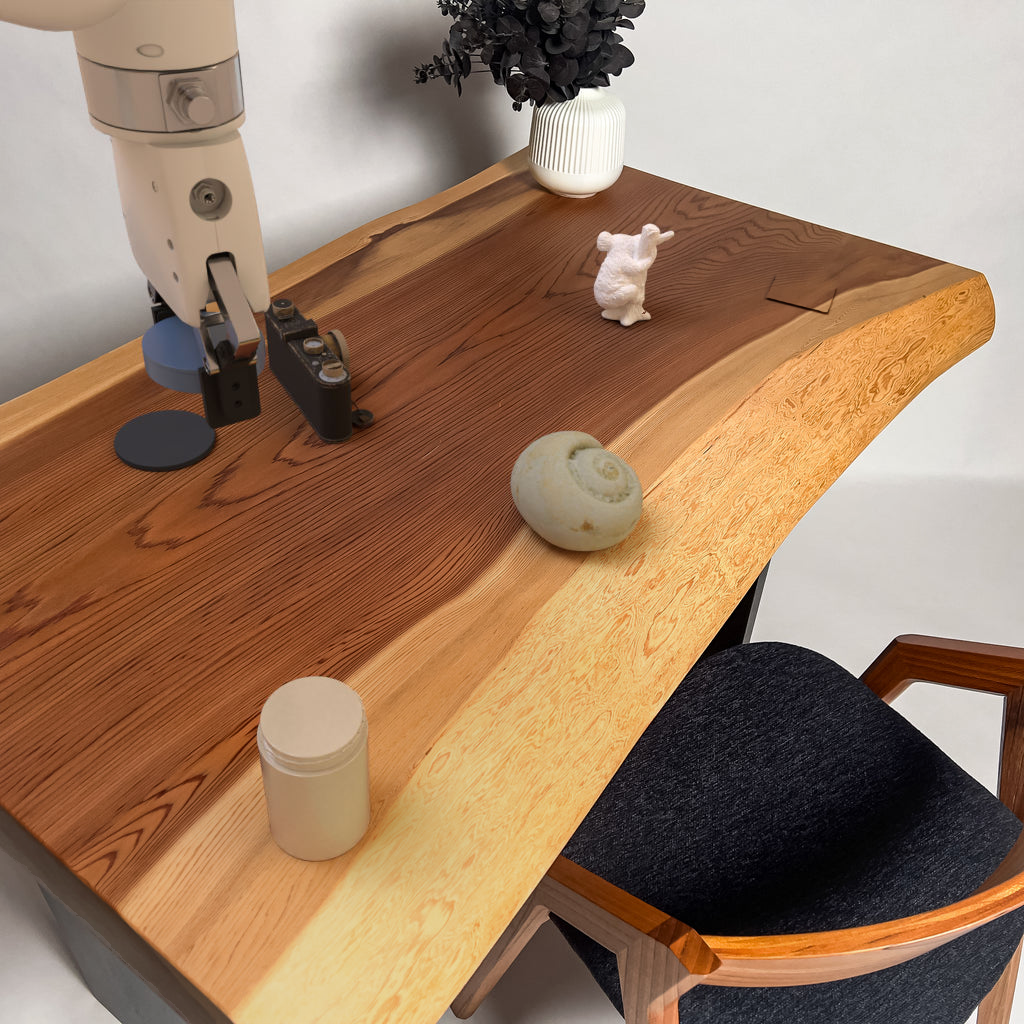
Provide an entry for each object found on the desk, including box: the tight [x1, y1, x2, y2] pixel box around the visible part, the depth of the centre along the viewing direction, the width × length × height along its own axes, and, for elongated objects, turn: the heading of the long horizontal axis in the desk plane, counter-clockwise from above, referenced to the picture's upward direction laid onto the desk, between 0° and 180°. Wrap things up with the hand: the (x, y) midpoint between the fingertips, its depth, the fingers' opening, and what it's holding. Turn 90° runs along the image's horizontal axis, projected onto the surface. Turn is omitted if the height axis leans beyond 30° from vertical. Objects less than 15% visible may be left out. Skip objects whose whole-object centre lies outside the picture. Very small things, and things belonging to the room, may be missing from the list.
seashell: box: [510, 430, 644, 552], centre depth 84 cm, size 13×8×10 cm
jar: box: [256, 675, 371, 862], centre depth 59 cm, size 6×6×10 cm
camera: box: [263, 298, 375, 444], centre depth 95 cm, size 16×7×8 cm, turn 31°
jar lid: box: [141, 311, 267, 395], centre depth 58 cm, size 7×7×2 cm
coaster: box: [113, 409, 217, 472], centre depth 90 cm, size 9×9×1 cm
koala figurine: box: [593, 223, 675, 327], centre depth 112 cm, size 8×7×12 cm
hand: (209, 386), depth 59 cm, fingers closed on jar lid, 7 cm apart
